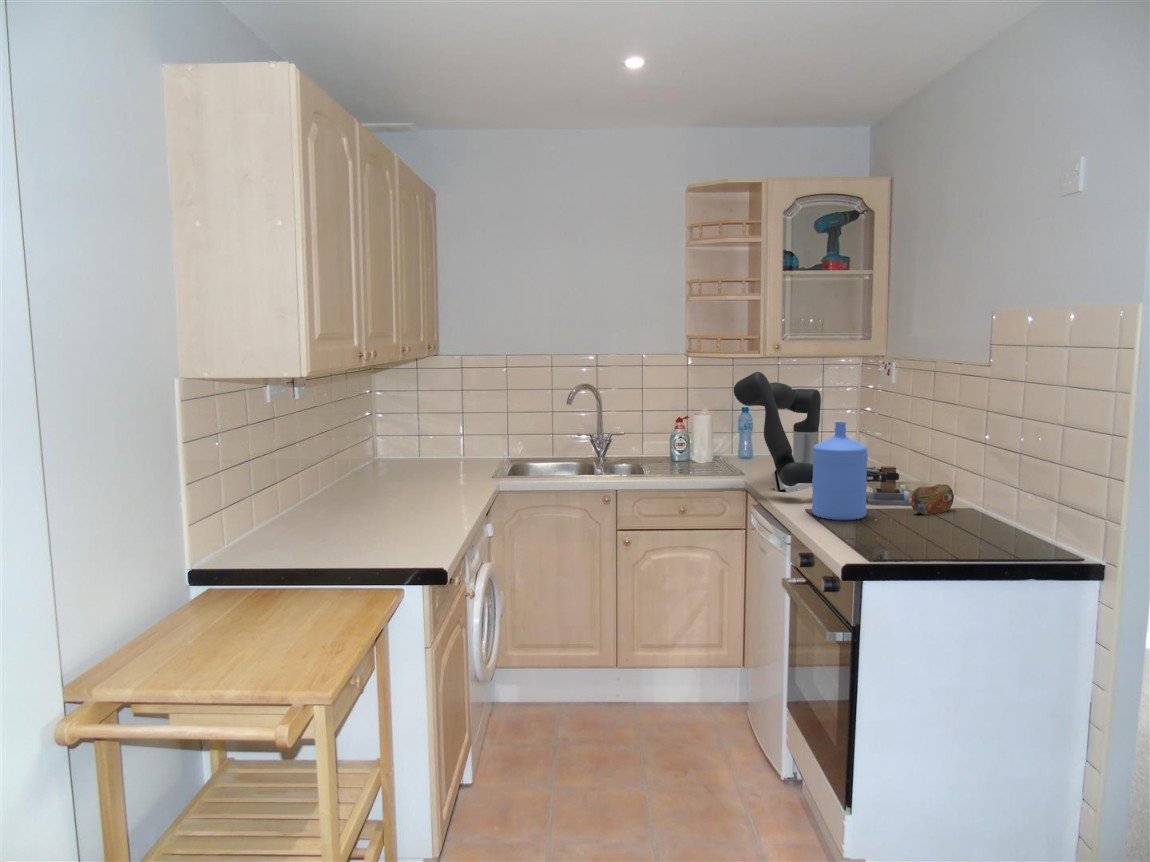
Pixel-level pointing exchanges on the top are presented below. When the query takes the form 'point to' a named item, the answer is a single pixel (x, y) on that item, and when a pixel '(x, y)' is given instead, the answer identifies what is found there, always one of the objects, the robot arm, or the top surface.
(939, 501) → the tin
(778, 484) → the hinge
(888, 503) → the seat board
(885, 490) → the block
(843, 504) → the water jug
